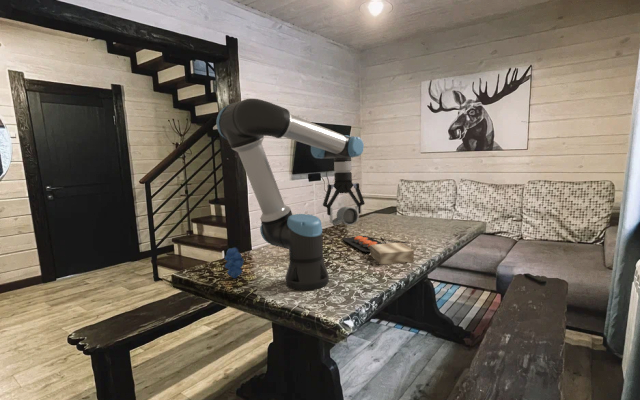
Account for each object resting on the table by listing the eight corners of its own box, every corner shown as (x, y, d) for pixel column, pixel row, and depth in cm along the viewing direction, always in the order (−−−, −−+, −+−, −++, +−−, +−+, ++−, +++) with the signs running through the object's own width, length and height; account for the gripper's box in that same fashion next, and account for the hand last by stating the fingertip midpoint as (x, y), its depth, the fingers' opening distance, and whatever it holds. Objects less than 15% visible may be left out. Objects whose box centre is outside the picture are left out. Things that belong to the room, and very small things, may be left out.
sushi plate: (341, 241, 174) (340, 234, 174) (391, 235, 183) (391, 229, 182) (364, 256, 147) (364, 247, 146) (423, 248, 155) (423, 240, 155)
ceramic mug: (350, 221, 152) (349, 204, 151) (358, 224, 144) (358, 206, 144) (329, 224, 148) (328, 207, 147) (336, 227, 141) (335, 209, 140)
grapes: (253, 279, 122) (250, 247, 120) (236, 284, 117) (233, 251, 116) (238, 271, 130) (235, 242, 129) (221, 276, 126) (219, 245, 125)
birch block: (380, 265, 132) (380, 253, 132) (370, 255, 146) (370, 244, 145) (413, 262, 134) (413, 250, 133) (400, 253, 148) (400, 242, 147)
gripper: (366, 170, 149) (367, 218, 152) (315, 172, 145) (316, 221, 148) (371, 170, 142) (372, 221, 144) (317, 173, 138) (319, 224, 140)
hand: (344, 221), depth 146 cm, fingers closed on ceramic mug, 11 cm apart
